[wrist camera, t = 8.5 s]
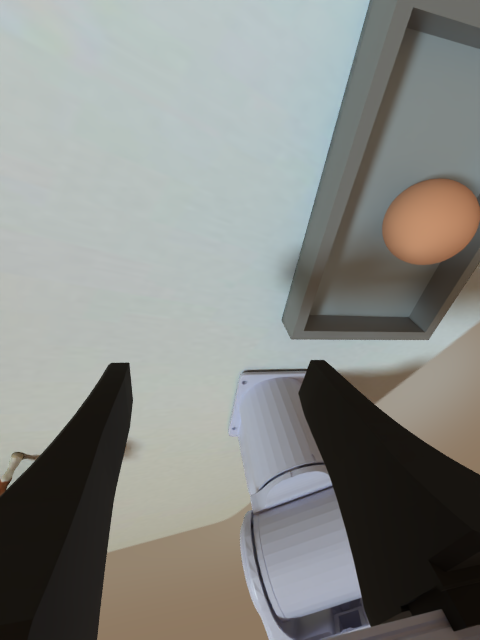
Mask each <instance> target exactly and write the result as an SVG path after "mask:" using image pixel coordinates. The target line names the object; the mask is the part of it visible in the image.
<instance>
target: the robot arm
mask: <svg viewBox="0 0 480 640" xmlns="http://www.w3.org/2000/svg"><path fill="white" fill-rule="evenodd" d="M243 381H244V382H243ZM132 403H133V397H132V386H131V376H130V366H129V363H111V364H109V365H108V367H107V368H106V370H105V372H104V373H103V375H102V377H101V378H100V380H99V381H98V383H97V384H96V386H95V387H94V389H93V390H92V392H91V393H90V395H89V396H88V397H87V399H86V400H85V402H84V403H83V404H82V406H81V407H80V408H79V410H78V411H77V412H76V414H75V415H74V416H73V418H72V419H71V420H70V421H69V422H68V424H67V425H66V426H65V427H64V429H63V430H62V431H61V432H60V433H59V435H58V436H57V437H56V438H55V439H54V441H53V442H52V443H51V444H50V445H49V446H48V447H47V449H46V450H45V451H44V452H43V453H42V454H41V455H40V456H39V457H38V458H37V459H36V460H35V462H34V463H33V464H32V465H31V466H30V467H29V468H28V469H27V470H26V471H25V472H24V473H23V474H22V475H21V476H20V477H19V478H18V479H17V480H16V481H15V482H14V483H13V484H12V485H11V486H10V487H9V488H8V489H7V490H6V491H5V492H4V493H3V494H2V495H1V496H0V640H97V634H98V625H99V615H100V606H101V597H102V589H103V580H104V571H105V563H106V555H107V547H108V539H109V531H110V524H111V517H112V509H113V502H114V497H115V491H116V486H117V482H118V477H119V473H120V469H121V464H122V460H123V455H124V451H125V446H126V442H127V437H128V433H129V428H130V421H131V413H132ZM228 433H229V436H232V437H233V436H238V439H239V445H240V450H241V455H242V461H243V466H244V472H245V477H246V482H247V487H248V491H249V493H250V495H251V496H250V499H251V504H252V509H253V510H251V511H248V512H247V513H246V514H245V517H244V521H243V524H242V527H241V531H240V546H241V547H240V548H241V556H242V563H243V569H244V574H245V577H246V582H247V586H248V589H249V592H250V596H251V598H252V601H253V603H254V606H255V608H256V610H257V611H258V613H259V615H260V616H261V619H262V621H263V624H264V627H265V630H266V632H267V635H268V638H269V640H480V475H479V474H477V473H475V472H473V471H472V470H470V469H468V468H466V467H465V466H463V465H461V464H459V463H458V462H456V461H454V460H453V459H451V458H449V457H447V456H446V455H444V454H443V453H441V452H440V451H438V450H436V449H435V448H433V447H432V446H430V445H428V444H427V443H425V442H424V441H422V440H421V439H419V438H418V437H417V436H415V435H414V434H412V433H411V432H409V431H408V430H407V429H405V428H404V427H402V426H401V425H400V424H398V423H397V422H396V421H394V420H393V419H392V418H390V417H389V416H388V415H387V414H385V413H384V412H383V411H382V410H381V409H379V408H378V407H377V406H376V405H374V404H373V403H372V402H371V401H370V400H368V399H367V398H366V397H365V396H364V395H363V394H362V393H360V392H359V391H358V390H357V389H356V388H355V387H354V386H353V385H351V384H350V383H349V382H348V381H347V380H346V379H345V378H344V377H343V376H342V375H340V374H339V373H338V372H337V371H336V370H335V369H334V368H333V367H332V366H330V365H329V364H328V363H327V362H326V361H325V360H311V361H310V364H309V366H308V369H307V371H279V372H244V373H242V374H241V375H240V377H239V382H238V386H237V391H236V396H235V401H234V406H233V411H232V416H231V421H230V426H229V431H228Z"/></svg>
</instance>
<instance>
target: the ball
mask: <svg viewBox="0 0 480 640" xmlns="http://www.w3.org/2000/svg"><path fill="white" fill-rule="evenodd" d="M479 221H480V207H479V203H478V201H477V198H476V197H475V195H474V194H473V192H472V191H471V190H470V189H468V188H467V187H466V186H465V185H463V184H461V183H459V182H457V181H454V180H450V179H440V178H439V179H429V180H425V181H422V182H419V183H417V184H414V185H412V186H410V187H409V188H407V189H406V190H404V191H403V192H402V193H400V194H399V195H398V196H397V197H396V198H395V199H394V200H393V202H392V203H391V204H390V206H389V208H388V209H387V211H386V213H385V216H384V219H383V224H382V235H383V239H384V242H385V244H386V246H387V248H388V249H389V251H390V252H391V253H392V254H393V255H394V256H396V257H397V258H398V259H400V260H402V261H404V262H407V263H410V264H416V265H430V264H435V263H439V262H442V261H445V260H447V259H449V258H451V257H453V256H454V255H456V254H457V253H459V252H460V251H461V250H463V249H464V248H465V247H466V246H467V245H468V244H469V242H470V241H471V240H472V238H473V237H474V235H475V233H476V231H477V229H478V226H479Z"/></svg>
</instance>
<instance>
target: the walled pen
mask: <svg viewBox="0 0 480 640" xmlns="http://www.w3.org/2000/svg"><path fill="white" fill-rule="evenodd" d="M439 178H440V179H450V180H454V181H457V182H459V183H461V184H463V185H465V186H466V187H467V188H468V189H470V190H471V191H472V192H473V194H474V195H475V197H476V198H477V201H478V203H479V207H480V0H370V3H369V6H368V10H367V13H366V17H365V21H364V24H363V28H362V32H361V35H360V39H359V42H358V46H357V50H356V53H355V57H354V60H353V64H352V68H351V71H350V75H349V79H348V82H347V86H346V89H345V93H344V97H343V100H342V104H341V107H340V111H339V115H338V118H337V122H336V126H335V129H334V133H333V136H332V140H331V144H330V147H329V151H328V154H327V158H326V162H325V165H324V169H323V172H322V176H321V180H320V183H319V187H318V191H317V194H316V198H315V201H314V205H313V209H312V212H311V216H310V219H309V223H308V227H307V230H306V234H305V238H304V241H303V245H302V248H301V252H300V256H299V259H298V263H297V266H296V270H295V274H294V277H293V281H292V285H291V288H290V292H289V295H288V299H287V303H286V306H285V310H284V313H283V317H282V322H283V324H284V326H285V328H286V330H287V332H288V334H289V336H290V338H291V339H327V340H429V338H430V337H431V335H432V334H433V332H434V331H435V329H436V328H437V326H438V325H439V323H440V322H441V320H442V319H443V317H444V316H445V314H446V313H447V311H448V310H449V308H450V306H451V305H452V303H453V302H454V300H455V299H456V297H457V296H458V294H459V293H460V291H461V290H462V288H463V287H464V285H465V284H466V282H467V281H468V279H469V278H470V276H471V275H472V273H473V272H474V270H475V269H476V267H477V265H478V264H479V262H480V221H479V226H478V229H477V231H476V233H475V235H474V237H473V238H472V240H471V241H470V242H469V244H468V245H467V246H466V247H465V248H464V249H463V250H461V251H460V252H459V253H457V254H456V255H454V256H453V257H451V258H449V259H447V260H445V261H442V262H439V263H435V264H430V265H416V264H410V263H407V262H404V261H402V260H400V259H398V258H397V257H396V256H394V255H393V254H392V253H391V252H390V251H389V249H388V248H387V246H386V244H385V242H384V239H383V235H382V224H383V219H384V216H385V213H386V211H387V209H388V208H389V206H390V204H391V203H392V202H393V200H394V199H395V198H396V197H397V196H398V195H399V194H400V193H402V192H403V191H404V190H406V189H407V188H409V187H410V186H412V185H414V184H417V183H419V182H422V181H425V180H429V179H439Z"/></svg>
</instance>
